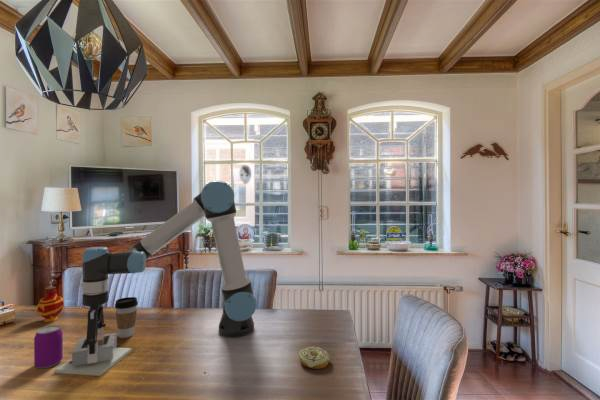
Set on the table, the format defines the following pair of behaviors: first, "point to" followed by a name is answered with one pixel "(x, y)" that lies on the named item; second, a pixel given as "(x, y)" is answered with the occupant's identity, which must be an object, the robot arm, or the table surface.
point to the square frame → (103, 350)
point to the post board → (96, 367)
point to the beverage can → (48, 346)
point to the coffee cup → (126, 316)
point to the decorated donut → (314, 357)
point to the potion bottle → (50, 305)
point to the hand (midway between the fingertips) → (95, 354)
